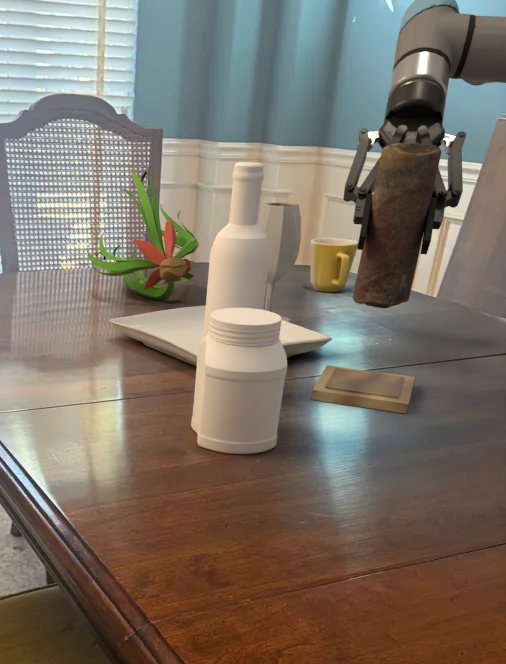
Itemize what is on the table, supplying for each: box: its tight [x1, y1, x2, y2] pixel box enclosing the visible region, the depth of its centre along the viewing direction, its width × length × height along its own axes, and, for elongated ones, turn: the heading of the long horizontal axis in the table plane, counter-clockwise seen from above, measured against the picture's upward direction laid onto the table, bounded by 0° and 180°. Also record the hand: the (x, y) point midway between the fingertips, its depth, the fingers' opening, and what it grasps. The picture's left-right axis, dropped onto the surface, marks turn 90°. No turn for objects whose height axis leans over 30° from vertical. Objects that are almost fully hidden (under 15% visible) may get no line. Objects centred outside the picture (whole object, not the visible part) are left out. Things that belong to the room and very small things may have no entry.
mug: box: [309, 237, 359, 293], centre depth 170 cm, size 14×10×10 cm
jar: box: [190, 308, 288, 455], centre depth 93 cm, size 12×10×15 cm
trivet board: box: [310, 364, 416, 415], centre depth 112 cm, size 13×13×2 cm
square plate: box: [108, 304, 333, 367], centre depth 131 cm, size 27×27×4 cm
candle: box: [352, 143, 443, 309], centre depth 101 cm, size 8×7×20 cm
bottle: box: [203, 161, 270, 339], centre depth 103 cm, size 8×8×30 cm
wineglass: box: [257, 201, 302, 323], centre depth 142 cm, size 9×9×21 cm
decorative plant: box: [86, 168, 199, 301], centre depth 160 cm, size 26×25×30 cm
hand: (393, 245), depth 99 cm, fingers closed on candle, 7 cm apart
